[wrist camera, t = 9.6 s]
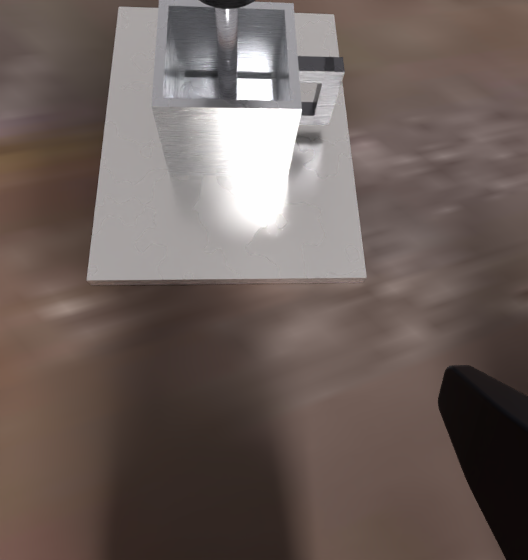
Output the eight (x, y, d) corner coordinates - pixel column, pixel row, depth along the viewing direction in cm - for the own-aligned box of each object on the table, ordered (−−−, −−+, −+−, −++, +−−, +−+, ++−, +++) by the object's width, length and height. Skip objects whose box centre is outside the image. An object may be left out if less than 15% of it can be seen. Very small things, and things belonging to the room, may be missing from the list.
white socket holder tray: (362, 282, 24) (404, 233, 18) (91, 285, 23) (40, 233, 17) (331, 24, 30) (354, -74, 25) (121, 17, 29) (93, -87, 24)
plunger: (275, 157, 24) (302, -31, 14) (182, 156, 24) (144, -39, 14) (271, 85, 26) (293, -127, 16) (184, 83, 26) (153, -135, 16)
